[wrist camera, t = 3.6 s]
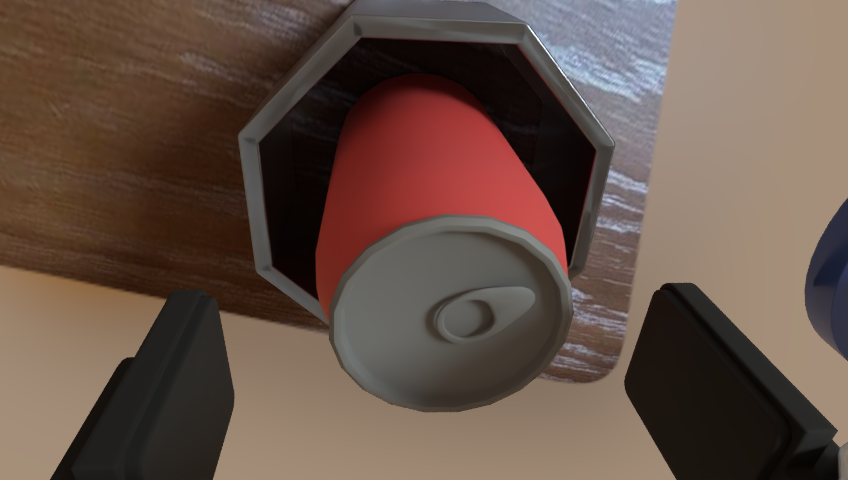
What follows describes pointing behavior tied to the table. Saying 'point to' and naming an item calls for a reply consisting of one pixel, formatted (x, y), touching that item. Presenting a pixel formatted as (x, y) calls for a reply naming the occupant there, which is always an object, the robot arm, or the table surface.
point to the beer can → (438, 252)
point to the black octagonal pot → (423, 21)
